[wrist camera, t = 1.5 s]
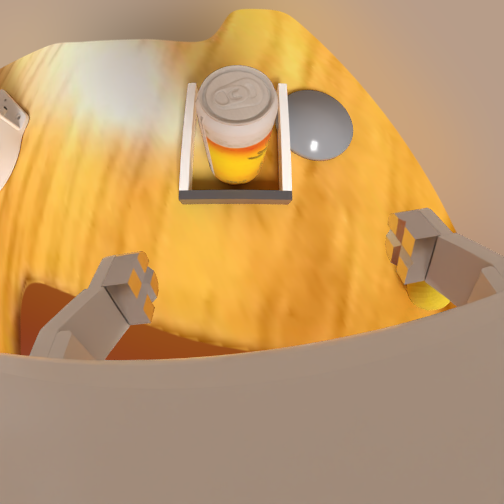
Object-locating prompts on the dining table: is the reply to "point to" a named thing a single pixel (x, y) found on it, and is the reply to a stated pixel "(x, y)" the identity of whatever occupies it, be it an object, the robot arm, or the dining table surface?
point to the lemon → (426, 296)
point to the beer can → (236, 121)
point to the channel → (235, 195)
